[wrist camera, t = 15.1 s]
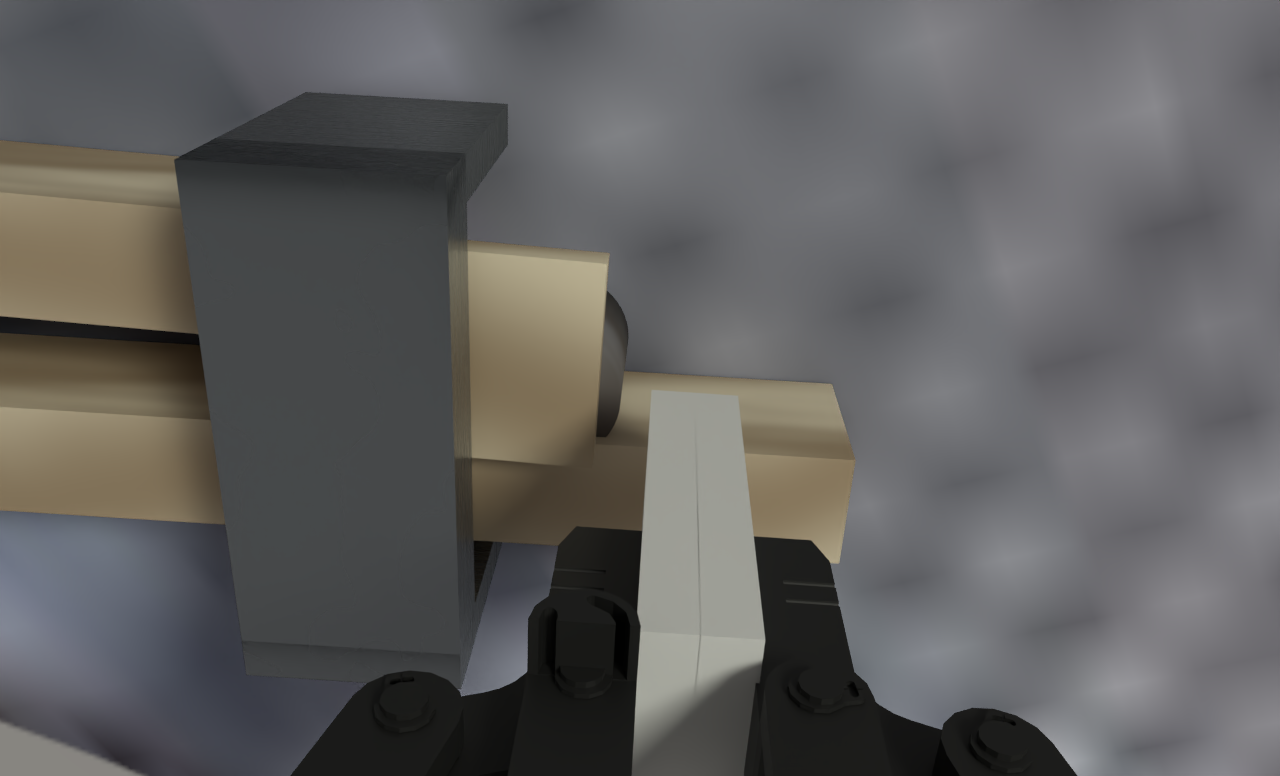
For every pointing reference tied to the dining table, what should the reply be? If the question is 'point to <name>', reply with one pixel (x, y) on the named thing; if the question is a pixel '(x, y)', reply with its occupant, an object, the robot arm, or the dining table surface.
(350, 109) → the collar
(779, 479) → the bar
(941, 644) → the dining table surface
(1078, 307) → the dining table surface
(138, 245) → the tongs jaw
